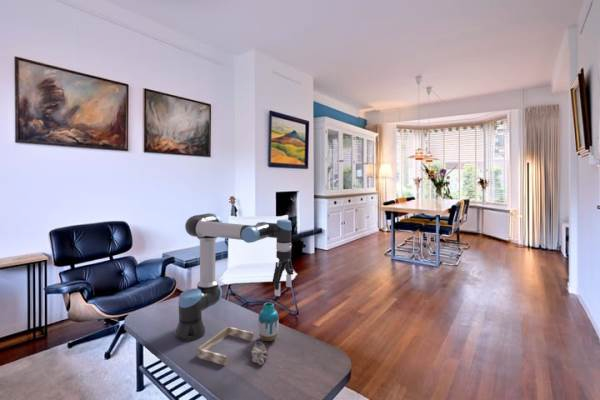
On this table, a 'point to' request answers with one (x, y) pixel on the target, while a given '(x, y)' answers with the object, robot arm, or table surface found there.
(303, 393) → the table surface
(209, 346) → the u-shaped wooden frame
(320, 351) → the table surface
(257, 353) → the mineral rock
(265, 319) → the vase
